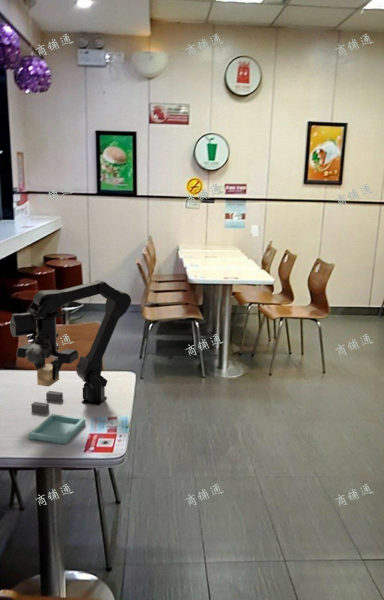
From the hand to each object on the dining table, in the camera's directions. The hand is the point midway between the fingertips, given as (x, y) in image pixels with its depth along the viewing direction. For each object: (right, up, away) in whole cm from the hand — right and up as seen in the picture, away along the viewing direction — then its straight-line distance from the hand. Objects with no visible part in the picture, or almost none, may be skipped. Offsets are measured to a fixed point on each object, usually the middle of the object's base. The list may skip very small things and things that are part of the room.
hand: (48, 379), depth 155 cm
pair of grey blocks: (-2, -10, +7) cm, 12 cm away
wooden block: (0, -1, 0) cm, 1 cm away
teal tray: (+6, -14, -10) cm, 18 cm away
